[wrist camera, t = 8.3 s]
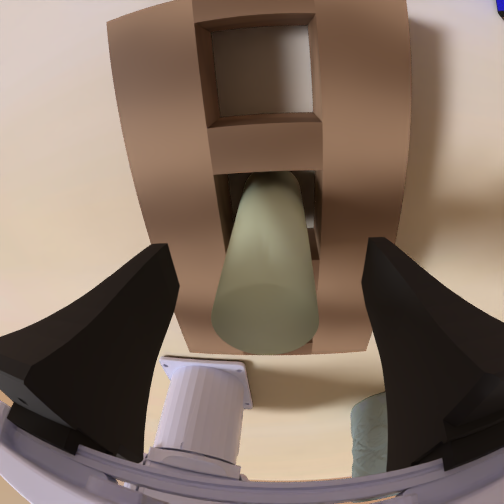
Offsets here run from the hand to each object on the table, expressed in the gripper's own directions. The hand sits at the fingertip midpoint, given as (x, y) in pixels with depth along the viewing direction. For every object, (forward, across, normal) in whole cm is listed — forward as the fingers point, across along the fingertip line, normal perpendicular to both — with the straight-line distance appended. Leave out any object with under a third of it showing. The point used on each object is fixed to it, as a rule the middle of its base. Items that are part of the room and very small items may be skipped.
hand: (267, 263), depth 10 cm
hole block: (+6, 0, 0) cm, 6 cm away
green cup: (+6, -13, +27) cm, 31 cm away
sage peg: (+6, 0, 0) cm, 6 cm away
